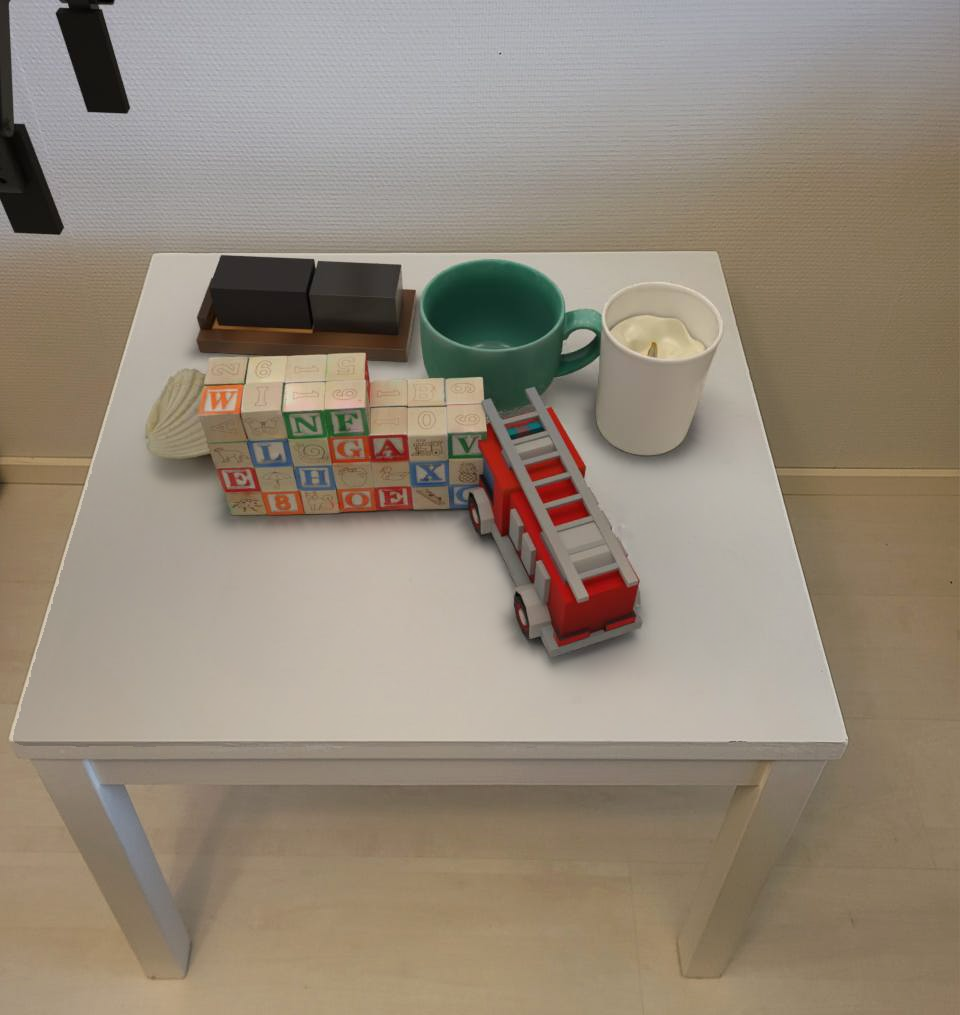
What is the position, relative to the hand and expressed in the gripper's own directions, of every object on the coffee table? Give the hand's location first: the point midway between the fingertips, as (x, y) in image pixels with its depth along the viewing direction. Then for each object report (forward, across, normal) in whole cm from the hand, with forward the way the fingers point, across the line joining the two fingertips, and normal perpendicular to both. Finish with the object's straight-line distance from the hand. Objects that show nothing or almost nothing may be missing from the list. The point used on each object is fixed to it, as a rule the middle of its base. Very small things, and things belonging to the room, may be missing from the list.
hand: (76, 166), depth 61 cm
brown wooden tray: (+29, +19, -8) cm, 35 cm away
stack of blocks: (+29, -1, -16) cm, 33 cm away
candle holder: (+29, +8, -40) cm, 50 cm away
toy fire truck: (+29, -8, -32) cm, 44 cm away
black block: (+27, +19, -4) cm, 33 cm away
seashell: (+29, +2, -1) cm, 29 cm away
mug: (+29, +12, -28) cm, 42 cm away
